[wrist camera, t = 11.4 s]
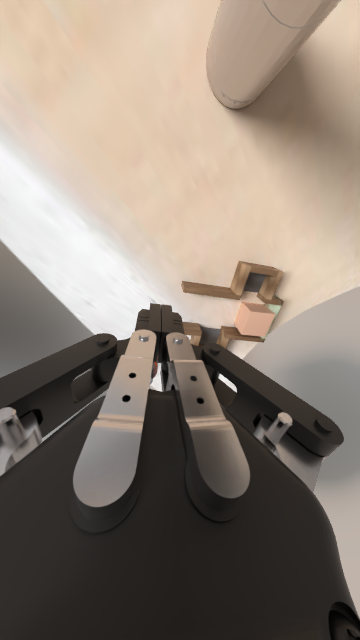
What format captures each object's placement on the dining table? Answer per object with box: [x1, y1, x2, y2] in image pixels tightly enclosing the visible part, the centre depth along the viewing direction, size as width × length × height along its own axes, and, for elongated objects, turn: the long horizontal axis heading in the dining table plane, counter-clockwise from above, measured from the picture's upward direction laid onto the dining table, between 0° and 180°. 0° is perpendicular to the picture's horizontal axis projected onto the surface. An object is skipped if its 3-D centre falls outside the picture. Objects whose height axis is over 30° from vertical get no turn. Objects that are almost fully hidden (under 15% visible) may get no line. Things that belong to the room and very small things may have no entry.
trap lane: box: [182, 261, 284, 349], centre depth 43 cm, size 23×22×4 cm
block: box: [234, 302, 276, 337], centre depth 44 cm, size 6×6×5 cm
